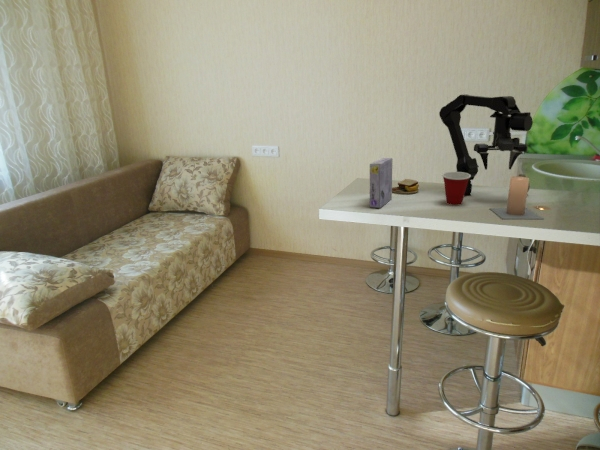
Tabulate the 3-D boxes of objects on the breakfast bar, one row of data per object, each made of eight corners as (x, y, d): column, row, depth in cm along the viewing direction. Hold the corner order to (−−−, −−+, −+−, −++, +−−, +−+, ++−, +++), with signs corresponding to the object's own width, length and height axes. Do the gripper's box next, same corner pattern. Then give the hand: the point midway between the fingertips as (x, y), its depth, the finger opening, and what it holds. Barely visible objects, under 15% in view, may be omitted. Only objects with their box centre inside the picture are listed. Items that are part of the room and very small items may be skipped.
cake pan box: (381, 197, 191) (383, 156, 186) (393, 198, 189) (394, 157, 184) (368, 208, 175) (369, 163, 169) (380, 209, 172) (381, 164, 167)
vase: (510, 195, 188) (512, 175, 186) (511, 192, 194) (513, 172, 192) (528, 197, 185) (530, 176, 183) (528, 193, 191) (531, 173, 188)
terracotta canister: (505, 214, 160) (509, 178, 157) (507, 210, 165) (511, 175, 161) (523, 216, 157) (528, 180, 153) (525, 212, 162) (530, 177, 158)
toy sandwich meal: (384, 191, 203) (384, 181, 202) (406, 187, 210) (406, 177, 208) (404, 196, 193) (404, 185, 191) (426, 192, 199) (426, 182, 198)
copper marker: (537, 209, 166) (537, 209, 166) (531, 206, 172) (531, 205, 172) (552, 209, 166) (552, 209, 166) (546, 206, 171) (546, 205, 171)
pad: (502, 219, 155) (502, 218, 155) (489, 209, 169) (489, 208, 168) (543, 219, 154) (544, 218, 154) (527, 209, 167) (527, 208, 167)
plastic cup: (439, 205, 175) (441, 176, 172) (440, 199, 185) (442, 171, 181) (468, 207, 171) (471, 177, 168) (468, 201, 181) (471, 172, 178)
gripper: (483, 132, 165) (479, 173, 170) (535, 131, 164) (530, 172, 168) (475, 129, 176) (471, 168, 180) (523, 128, 174) (519, 167, 179)
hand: (497, 169), depth 177 cm, fingers open, 9 cm apart
